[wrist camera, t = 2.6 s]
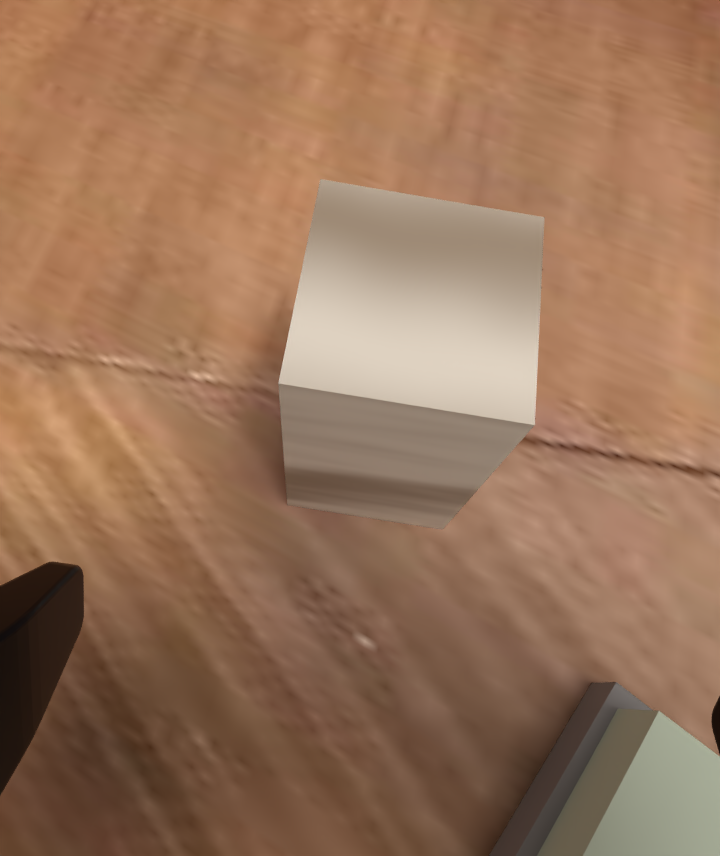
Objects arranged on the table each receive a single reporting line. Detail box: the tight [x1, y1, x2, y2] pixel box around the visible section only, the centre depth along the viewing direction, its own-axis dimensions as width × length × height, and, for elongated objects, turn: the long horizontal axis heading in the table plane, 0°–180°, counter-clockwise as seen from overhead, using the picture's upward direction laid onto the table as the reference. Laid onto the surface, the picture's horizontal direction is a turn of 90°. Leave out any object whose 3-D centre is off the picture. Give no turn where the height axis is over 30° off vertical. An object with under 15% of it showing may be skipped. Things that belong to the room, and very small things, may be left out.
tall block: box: [278, 179, 544, 530], centre depth 20 cm, size 6×6×10 cm
